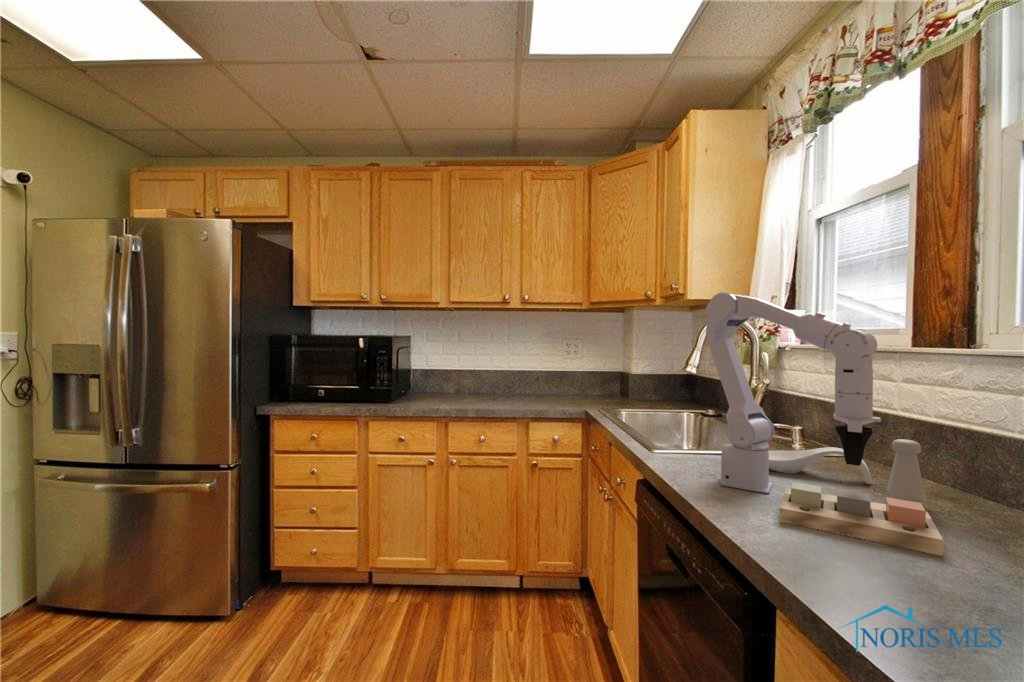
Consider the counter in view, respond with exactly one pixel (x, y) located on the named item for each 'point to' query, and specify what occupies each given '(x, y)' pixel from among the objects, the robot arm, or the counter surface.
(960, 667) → the counter surface
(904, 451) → the salt shaker
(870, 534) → the tan wooden slotted tray
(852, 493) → the key slate
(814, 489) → the key sage
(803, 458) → the light grey curved piece
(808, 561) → the counter surface
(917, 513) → the key terracotta
